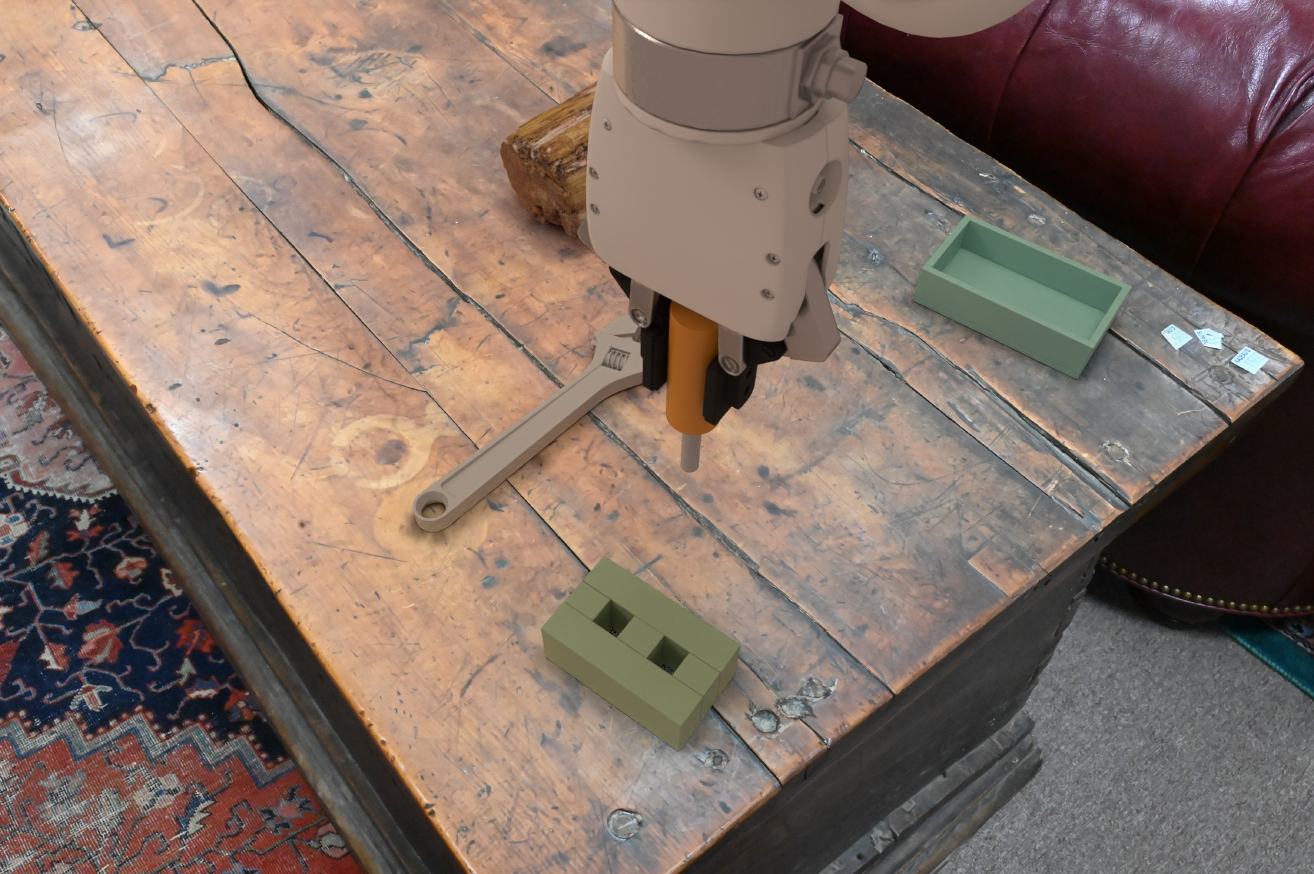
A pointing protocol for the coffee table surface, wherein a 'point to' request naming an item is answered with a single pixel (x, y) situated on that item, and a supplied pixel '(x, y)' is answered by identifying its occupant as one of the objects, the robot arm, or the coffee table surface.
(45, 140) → the coffee table surface
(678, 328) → the orange handle
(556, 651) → the holder
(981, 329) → the tray
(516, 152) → the petrified wood
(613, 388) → the adjustable wrench
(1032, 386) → the coffee table surface
